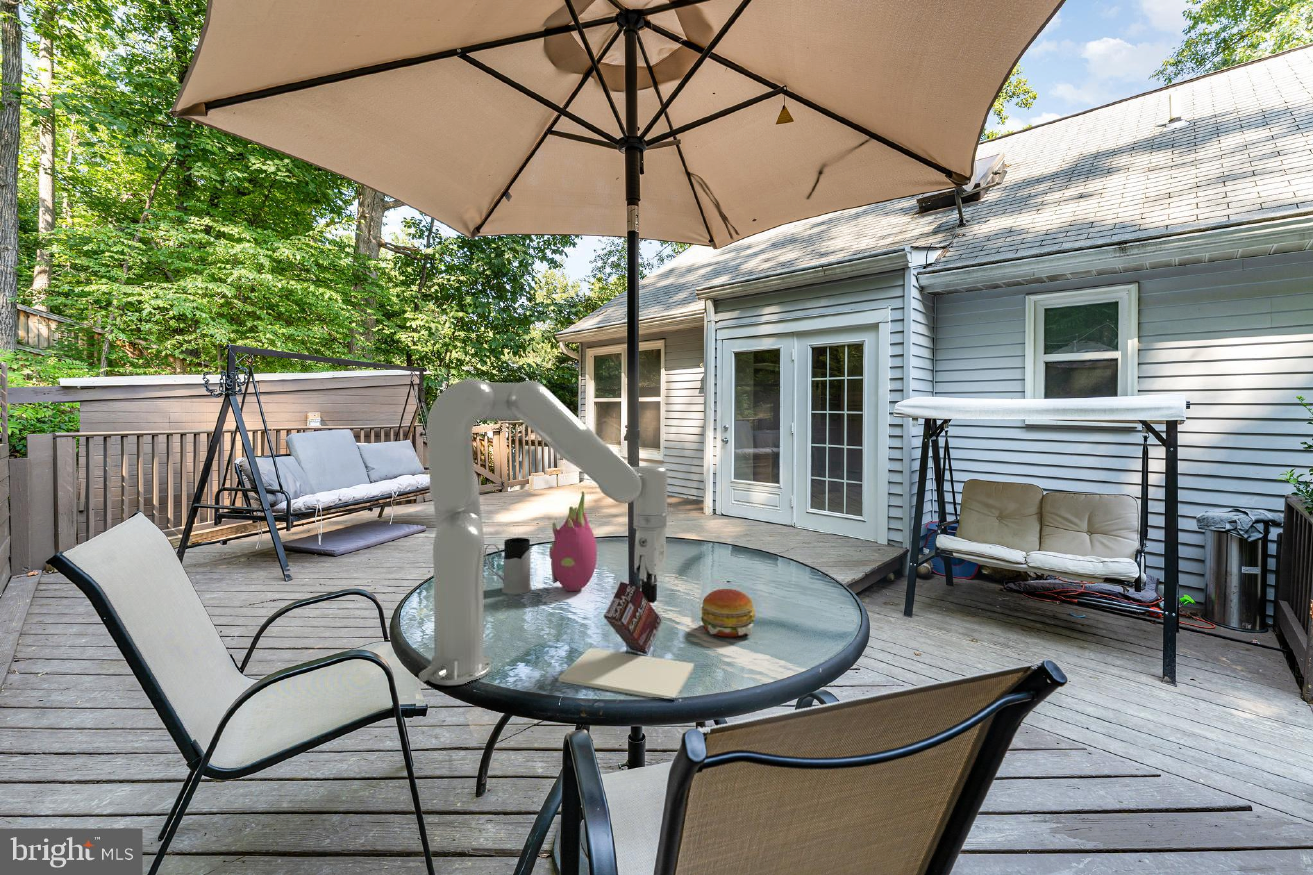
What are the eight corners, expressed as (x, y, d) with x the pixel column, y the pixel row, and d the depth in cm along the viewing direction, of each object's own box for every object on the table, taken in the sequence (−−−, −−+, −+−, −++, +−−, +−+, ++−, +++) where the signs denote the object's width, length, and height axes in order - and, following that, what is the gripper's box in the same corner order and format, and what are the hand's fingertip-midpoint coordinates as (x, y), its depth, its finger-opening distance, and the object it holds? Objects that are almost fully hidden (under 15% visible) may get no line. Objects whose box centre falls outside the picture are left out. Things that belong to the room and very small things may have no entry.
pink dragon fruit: (561, 580, 180) (561, 487, 179) (602, 582, 178) (603, 488, 177) (542, 598, 162) (542, 494, 161) (588, 601, 160) (588, 496, 159)
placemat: (674, 701, 104) (674, 697, 104) (558, 681, 112) (558, 677, 112) (693, 667, 119) (694, 663, 119) (589, 651, 126) (589, 647, 126)
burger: (723, 616, 149) (724, 579, 149) (766, 631, 140) (767, 591, 139) (689, 629, 140) (690, 590, 139) (732, 646, 130) (733, 603, 130)
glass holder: (527, 594, 166) (528, 543, 165) (479, 593, 166) (480, 543, 165) (534, 585, 174) (534, 537, 174) (489, 584, 175) (489, 536, 174)
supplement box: (649, 656, 124) (620, 622, 114) (631, 650, 127) (601, 617, 116) (663, 620, 129) (637, 584, 119) (646, 615, 131) (619, 580, 121)
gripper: (656, 528, 118) (654, 614, 119) (674, 516, 133) (673, 593, 133) (622, 525, 121) (621, 610, 121) (644, 514, 135) (643, 590, 136)
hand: (648, 601), depth 127 cm, fingers closed
